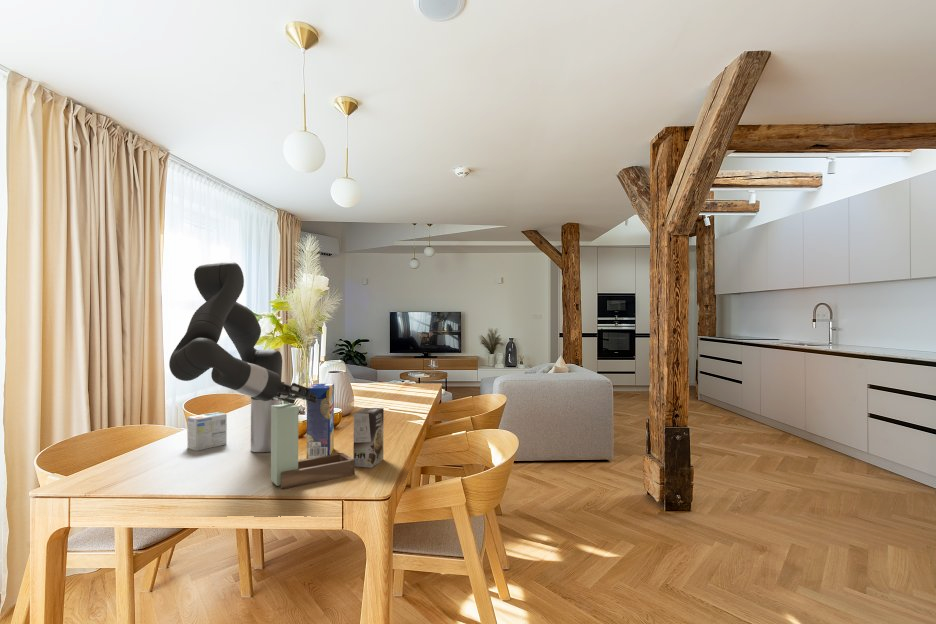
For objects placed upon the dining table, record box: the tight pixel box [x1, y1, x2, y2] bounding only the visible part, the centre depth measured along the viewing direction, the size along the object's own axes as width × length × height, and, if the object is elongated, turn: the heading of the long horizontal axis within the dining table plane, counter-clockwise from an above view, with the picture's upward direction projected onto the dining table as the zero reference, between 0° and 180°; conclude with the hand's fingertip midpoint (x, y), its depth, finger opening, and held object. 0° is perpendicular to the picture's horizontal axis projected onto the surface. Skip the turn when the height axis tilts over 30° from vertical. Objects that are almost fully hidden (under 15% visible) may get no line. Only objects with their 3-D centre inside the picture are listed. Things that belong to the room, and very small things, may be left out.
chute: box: [277, 452, 356, 490], centre depth 136 cm, size 9×20×4 cm, turn 127°
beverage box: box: [306, 383, 335, 459], centre depth 159 cm, size 7×11×22 cm, turn 8°
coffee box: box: [352, 407, 385, 469], centre depth 149 cm, size 9×6×16 cm
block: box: [270, 403, 299, 486], centre depth 131 cm, size 6×6×20 cm
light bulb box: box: [186, 411, 228, 452], centre depth 168 cm, size 11×7×11 cm, turn 144°
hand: (304, 399), depth 133 cm, fingers open, 8 cm apart
